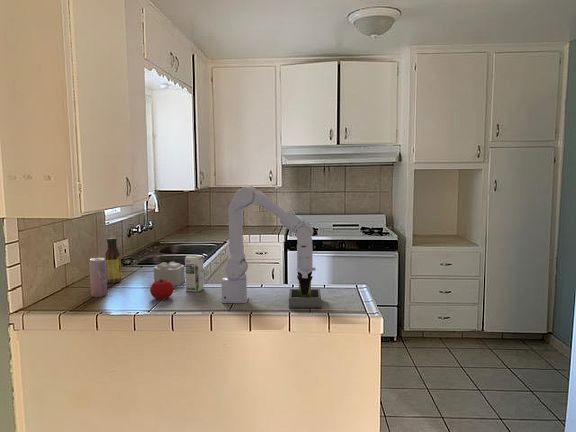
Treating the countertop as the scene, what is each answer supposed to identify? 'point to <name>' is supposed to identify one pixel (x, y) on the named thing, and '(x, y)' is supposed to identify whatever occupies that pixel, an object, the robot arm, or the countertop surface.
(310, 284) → the green cylinder
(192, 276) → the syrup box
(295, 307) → the bin
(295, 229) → the robot arm
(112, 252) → the sauce bottle
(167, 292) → the tomato
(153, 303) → the countertop surface
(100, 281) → the beverage can
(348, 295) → the countertop surface
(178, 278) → the egg container
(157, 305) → the countertop surface
